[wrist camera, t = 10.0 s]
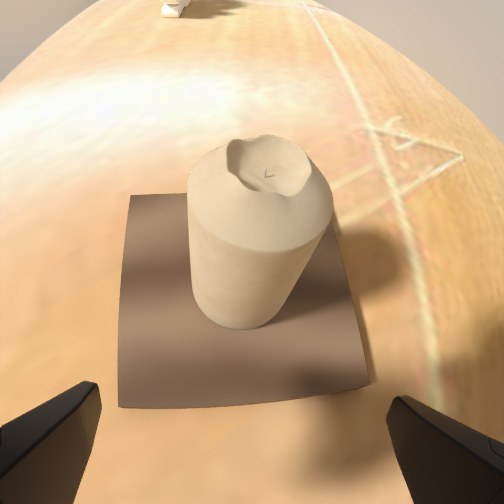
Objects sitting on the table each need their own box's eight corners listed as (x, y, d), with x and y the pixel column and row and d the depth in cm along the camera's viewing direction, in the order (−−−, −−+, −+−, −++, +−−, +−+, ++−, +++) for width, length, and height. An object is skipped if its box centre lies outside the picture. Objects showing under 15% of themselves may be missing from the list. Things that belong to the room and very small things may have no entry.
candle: (252, 350, 17) (302, 260, 9) (172, 294, 18) (150, 167, 10) (301, 278, 20) (367, 159, 12) (228, 231, 21) (246, 97, 13)
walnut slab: (362, 387, 18) (370, 384, 17) (122, 408, 15) (118, 406, 15) (319, 202, 25) (322, 194, 24) (132, 204, 22) (130, 195, 22)
